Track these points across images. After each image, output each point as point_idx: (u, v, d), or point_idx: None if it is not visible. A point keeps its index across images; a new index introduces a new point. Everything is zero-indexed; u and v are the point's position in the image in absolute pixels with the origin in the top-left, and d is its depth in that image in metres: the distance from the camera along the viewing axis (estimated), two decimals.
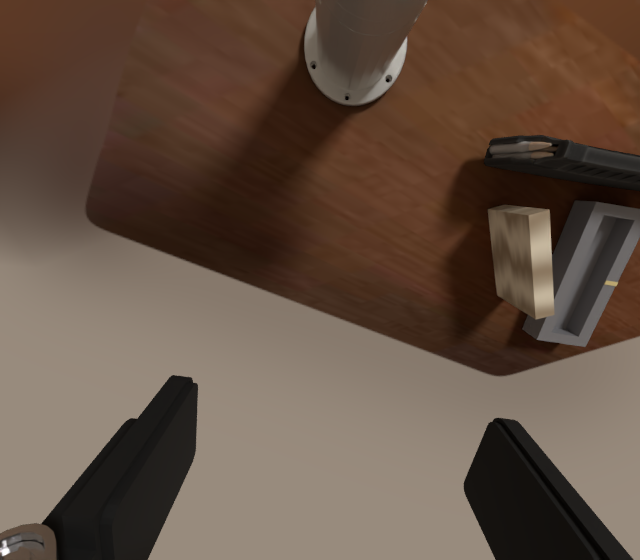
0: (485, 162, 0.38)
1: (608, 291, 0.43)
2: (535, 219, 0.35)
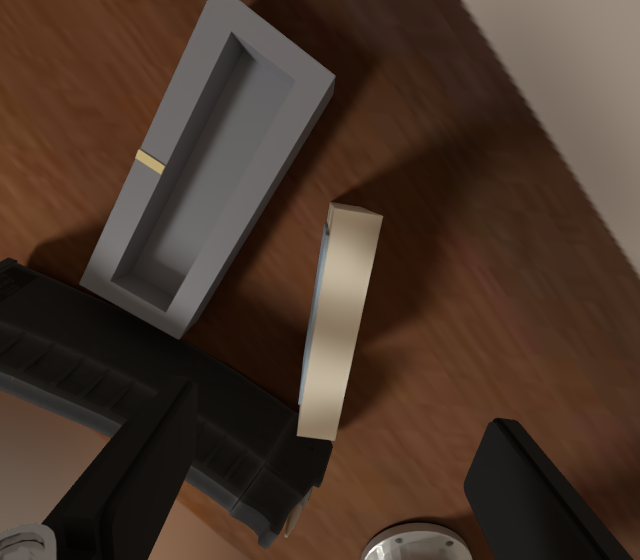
0: None
1: (155, 140, 0.18)
2: (324, 430, 0.18)
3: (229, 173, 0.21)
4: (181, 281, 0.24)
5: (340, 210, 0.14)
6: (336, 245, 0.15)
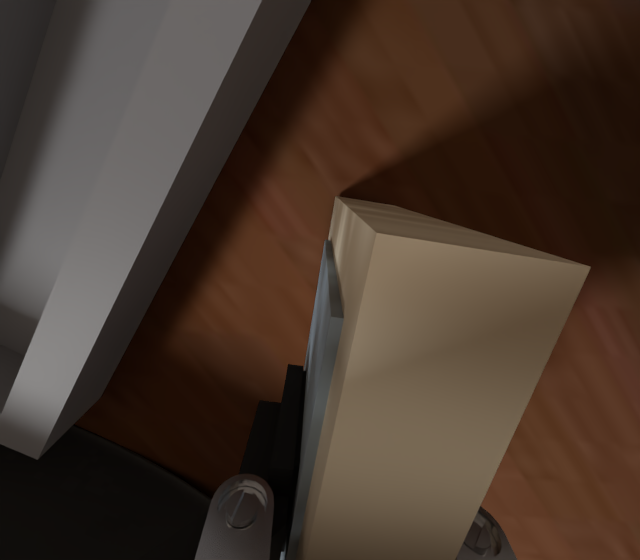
0: None
1: None
2: None
3: (118, 128, 0.10)
4: None
5: (401, 242, 0.03)
6: (376, 378, 0.04)
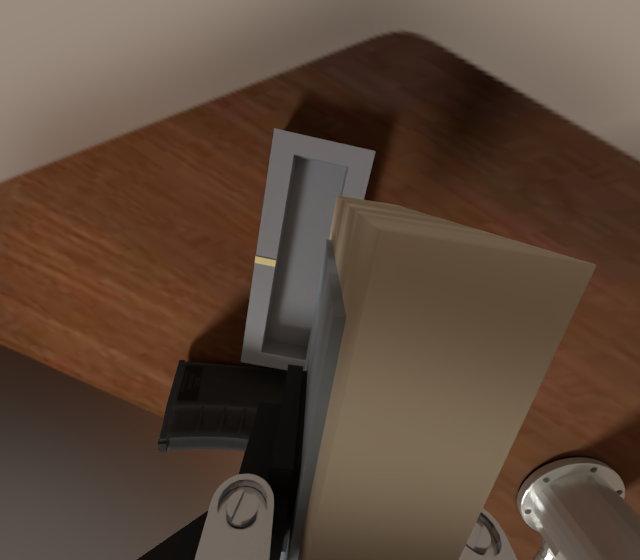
0: None
1: (264, 245, 0.25)
2: None
3: (313, 243, 0.28)
4: (303, 333, 0.30)
5: (404, 240, 0.03)
6: (379, 378, 0.04)
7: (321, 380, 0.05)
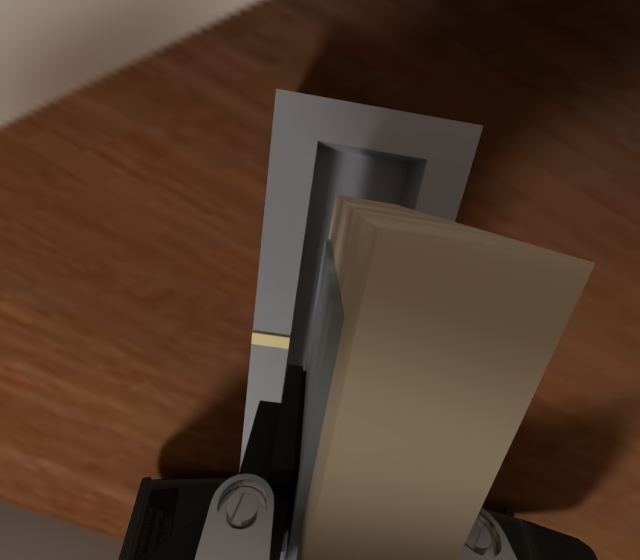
0: None
1: (267, 314, 0.14)
2: None
3: None
4: None
5: (403, 238, 0.03)
6: (377, 377, 0.04)
7: (319, 379, 0.05)
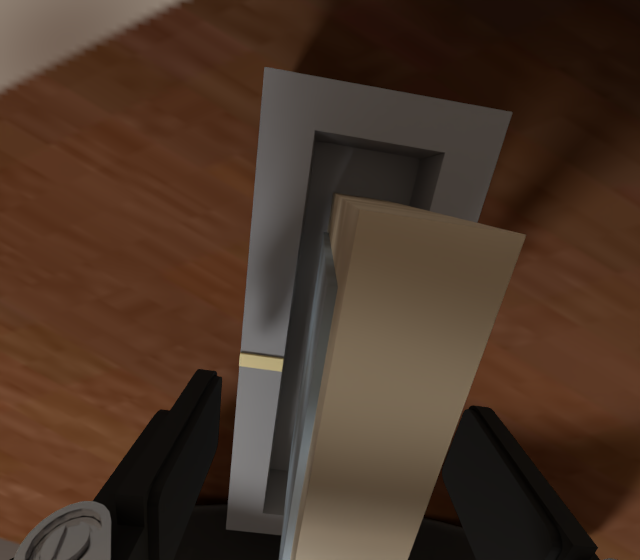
0: None
1: (257, 332, 0.12)
2: None
3: None
4: None
5: (379, 217, 0.04)
6: (362, 328, 0.05)
7: (318, 342, 0.06)
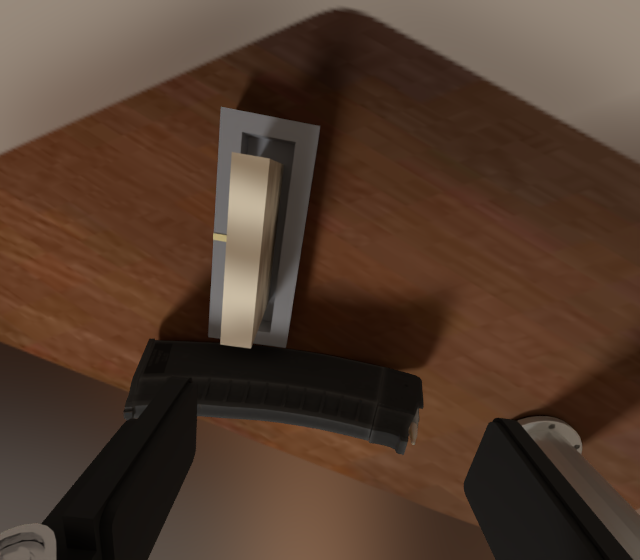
0: (421, 381, 0.33)
1: (221, 222, 0.26)
2: (242, 339, 0.23)
3: None
4: (268, 308, 0.32)
5: (236, 153, 0.19)
6: (236, 182, 0.19)
7: None
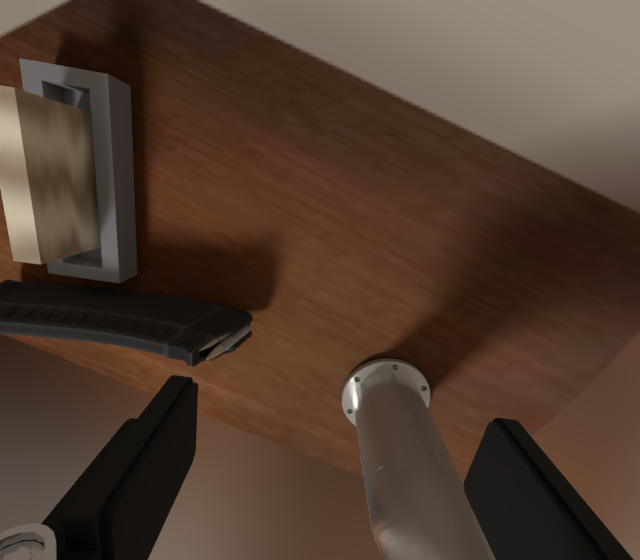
0: (251, 317, 0.36)
1: None
2: (31, 255, 0.26)
3: None
4: None
5: None
6: None
7: None
